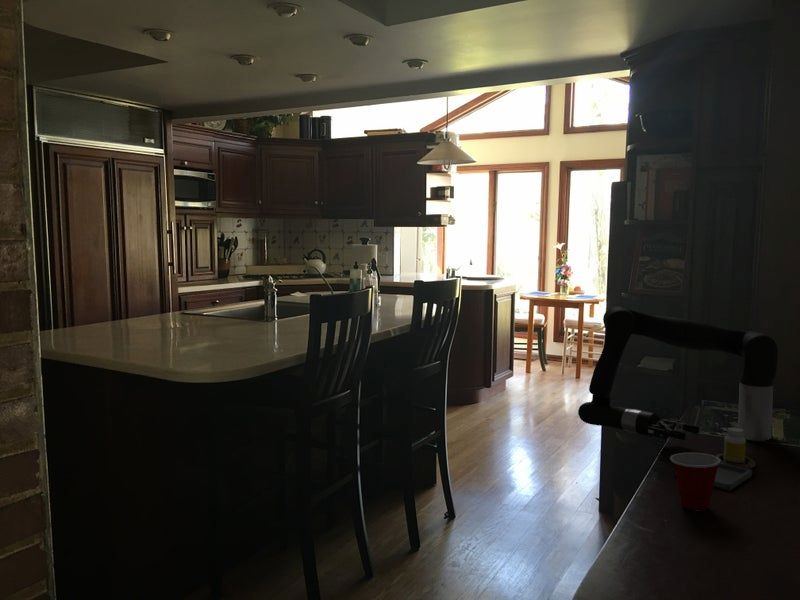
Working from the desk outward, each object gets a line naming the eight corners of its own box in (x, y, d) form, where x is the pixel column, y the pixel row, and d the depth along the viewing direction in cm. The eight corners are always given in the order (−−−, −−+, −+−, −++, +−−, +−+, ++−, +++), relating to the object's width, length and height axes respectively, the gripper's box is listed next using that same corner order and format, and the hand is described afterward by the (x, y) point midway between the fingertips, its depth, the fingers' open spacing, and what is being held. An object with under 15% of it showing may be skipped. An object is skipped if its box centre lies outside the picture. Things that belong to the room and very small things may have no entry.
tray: (698, 462, 179) (698, 457, 179) (752, 475, 168) (752, 470, 168) (674, 476, 169) (674, 470, 169) (729, 491, 158) (729, 485, 158)
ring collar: (723, 455, 185) (723, 451, 184) (759, 463, 177) (759, 459, 177) (709, 463, 178) (709, 459, 178) (745, 472, 171) (745, 467, 171)
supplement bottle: (749, 466, 175) (750, 432, 174) (729, 467, 175) (730, 432, 174) (738, 460, 180) (740, 426, 180) (719, 460, 181) (720, 426, 180)
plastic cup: (679, 493, 157) (680, 446, 156) (726, 506, 150) (727, 456, 149) (661, 507, 150) (662, 457, 149) (709, 520, 142) (710, 468, 141)
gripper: (628, 414, 193) (681, 425, 181) (651, 406, 203) (703, 416, 190) (628, 438, 194) (681, 451, 182) (651, 429, 203) (702, 440, 191)
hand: (692, 433), depth 186 cm, fingers open, 8 cm apart
